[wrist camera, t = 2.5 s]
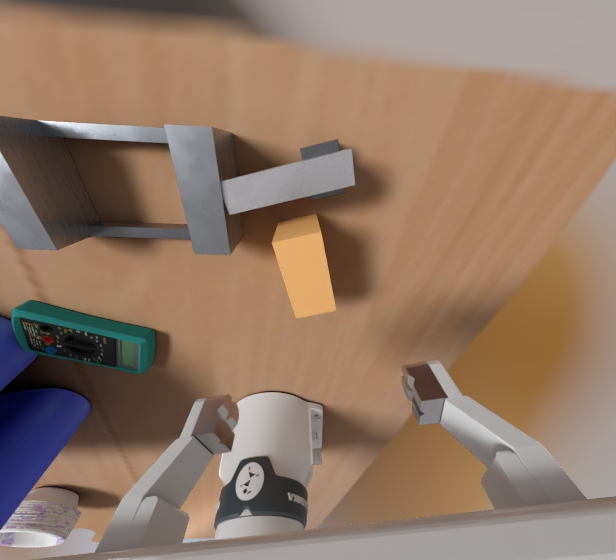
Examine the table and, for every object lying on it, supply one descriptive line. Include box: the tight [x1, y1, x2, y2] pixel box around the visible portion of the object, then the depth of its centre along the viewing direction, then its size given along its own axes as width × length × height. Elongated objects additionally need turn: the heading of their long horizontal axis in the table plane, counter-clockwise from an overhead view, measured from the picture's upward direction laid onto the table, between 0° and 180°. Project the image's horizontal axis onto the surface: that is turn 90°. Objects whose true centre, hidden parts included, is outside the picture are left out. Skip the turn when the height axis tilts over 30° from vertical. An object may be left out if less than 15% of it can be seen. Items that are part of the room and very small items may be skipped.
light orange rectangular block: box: [272, 214, 336, 318], centre depth 22 cm, size 8×4×6 cm, turn 12°
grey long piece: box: [0, 116, 355, 255], centre depth 18 cm, size 37×9×5 cm, turn 87°
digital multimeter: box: [12, 300, 156, 374], centre depth 28 cm, size 7×15×3 cm, turn 68°
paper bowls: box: [0, 487, 81, 547], centre depth 52 cm, size 15×15×8 cm
